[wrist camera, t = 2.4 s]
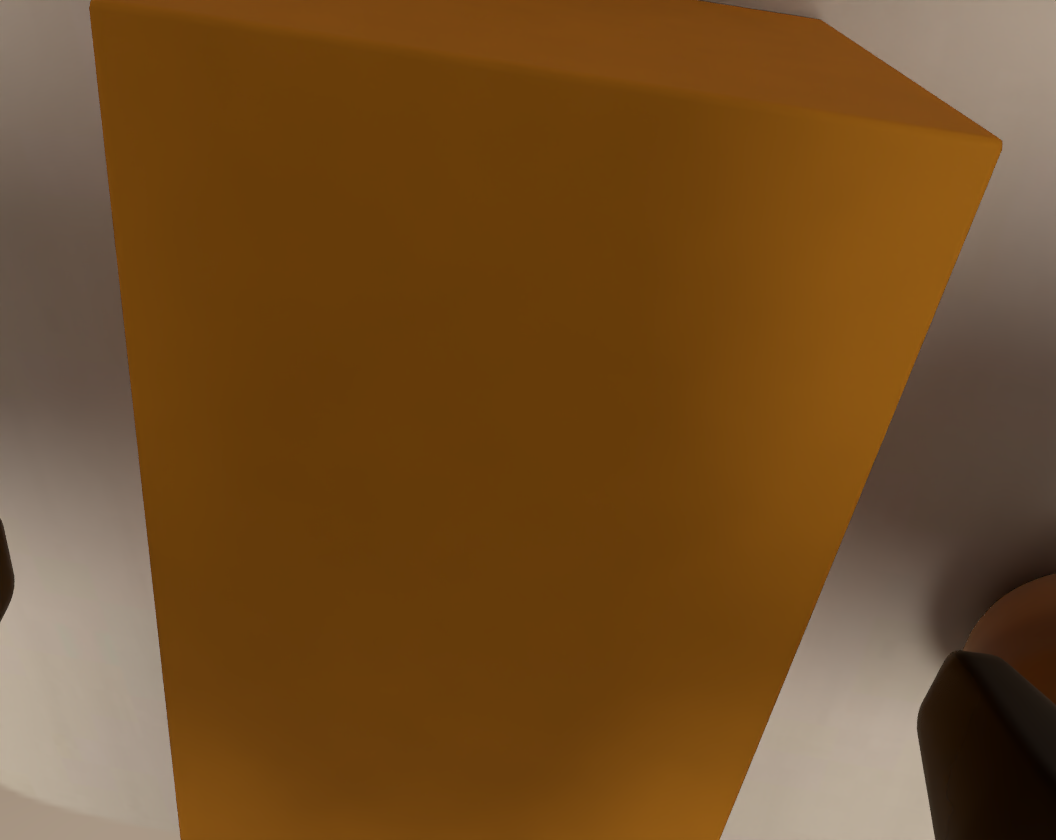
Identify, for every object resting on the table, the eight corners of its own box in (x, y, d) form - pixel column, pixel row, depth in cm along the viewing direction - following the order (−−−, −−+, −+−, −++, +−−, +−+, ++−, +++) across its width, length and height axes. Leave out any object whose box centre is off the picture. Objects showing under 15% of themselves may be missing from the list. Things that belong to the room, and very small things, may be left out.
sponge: (638, 673, 15) (656, 997, 11) (305, 626, 15) (188, 933, 10) (824, 19, 10) (1008, 141, 5) (310, -62, 10) (84, -2, 5)
